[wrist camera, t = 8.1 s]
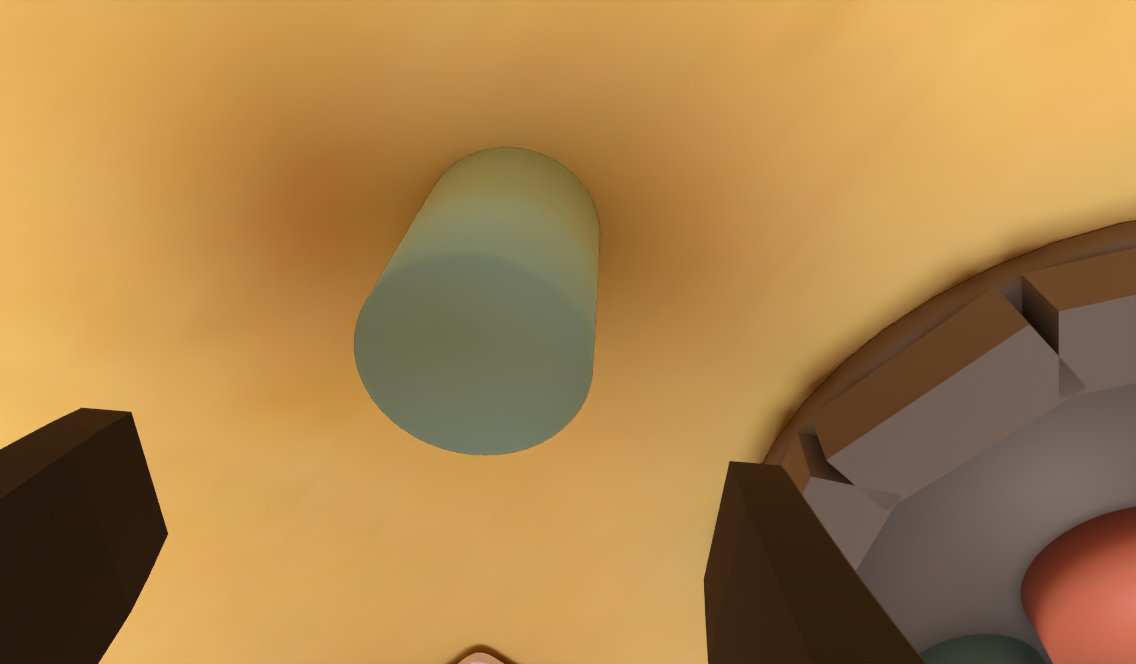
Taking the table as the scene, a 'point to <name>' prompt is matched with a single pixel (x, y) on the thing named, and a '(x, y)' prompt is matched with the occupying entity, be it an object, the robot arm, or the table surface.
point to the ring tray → (992, 456)
